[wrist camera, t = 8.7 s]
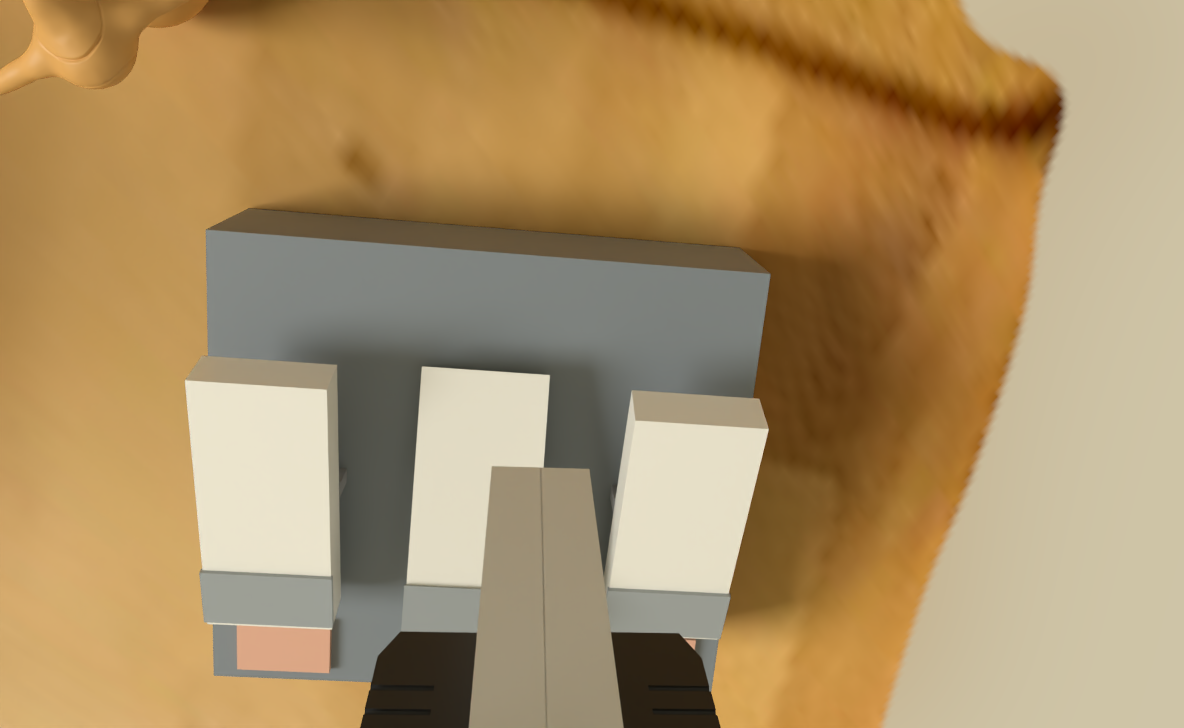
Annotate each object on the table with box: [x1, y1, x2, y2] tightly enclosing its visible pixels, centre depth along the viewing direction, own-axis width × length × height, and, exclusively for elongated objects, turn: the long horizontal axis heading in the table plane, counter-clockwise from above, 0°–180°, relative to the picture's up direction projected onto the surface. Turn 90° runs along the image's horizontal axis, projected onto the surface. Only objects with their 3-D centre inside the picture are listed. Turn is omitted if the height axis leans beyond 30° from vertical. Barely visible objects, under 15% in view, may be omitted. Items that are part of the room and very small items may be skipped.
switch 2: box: [401, 366, 550, 633], centre depth 32 cm, size 9×4×2 cm, turn 176°
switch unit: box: [206, 208, 771, 692], centre depth 36 cm, size 16×18×6 cm
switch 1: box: [185, 356, 341, 630], centre depth 31 cm, size 9×4×2 cm, turn 174°
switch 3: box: [604, 390, 769, 640], centre depth 32 cm, size 9×4×2 cm, turn 174°
